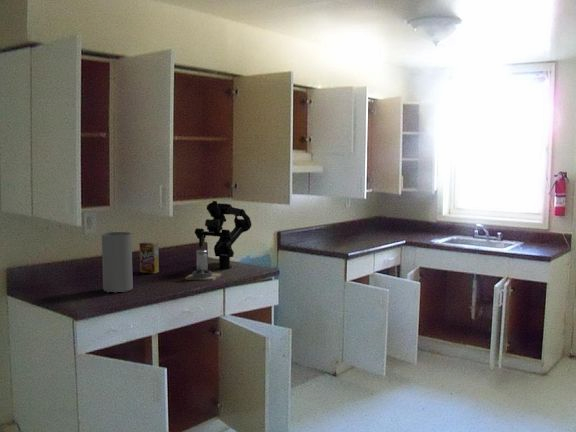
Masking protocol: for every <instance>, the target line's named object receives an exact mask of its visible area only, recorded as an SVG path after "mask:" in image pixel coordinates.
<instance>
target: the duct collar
mask: <svg viewBox="0 0 576 432" xmlns="http://www.w3.org/2000/svg"><path fill="white" fill-rule="evenodd" d="M212 273H213V272H212V271H211V270H208V273H203V274H200V273H197V270H194V271H192V274H193V277H195V278H208V277H211V276H212Z"/></svg>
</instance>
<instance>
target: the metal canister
mask: <svg viewBox="0 0 576 432" xmlns="http://www.w3.org/2000/svg"><path fill="white" fill-rule="evenodd" d="M195 253H196V271H197V273H200V274H203V273H208V271H209V269H208V267H209V266H208V259H209V258H208V254H209V252H208V250H207V249H197V250H196V251H195Z"/></svg>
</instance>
